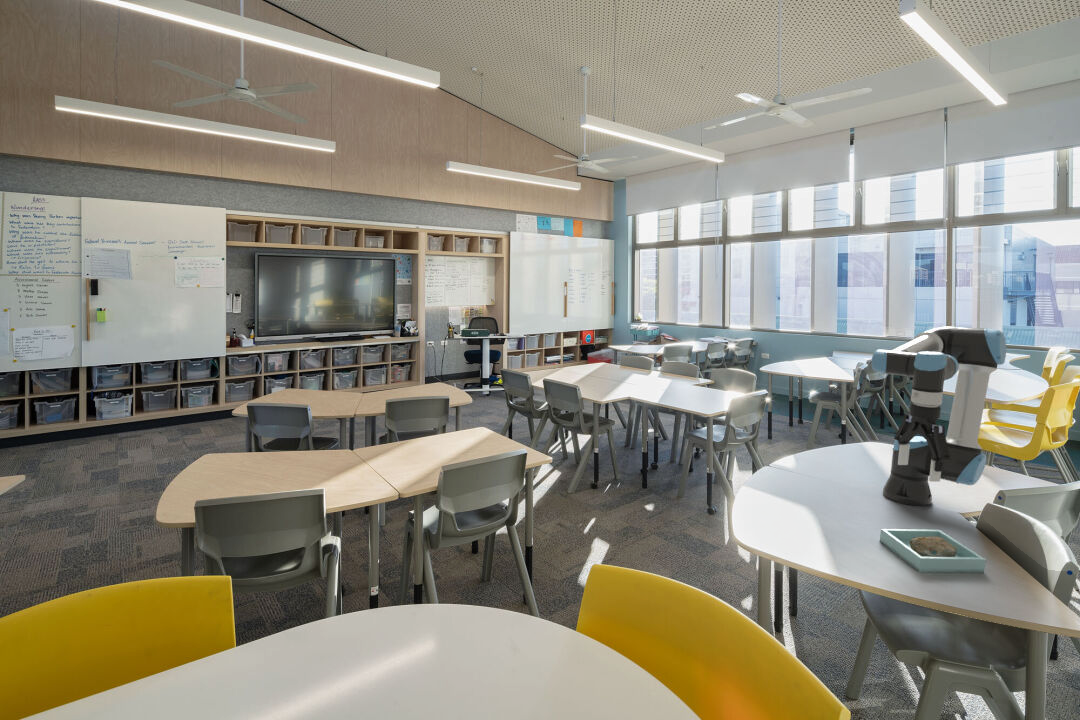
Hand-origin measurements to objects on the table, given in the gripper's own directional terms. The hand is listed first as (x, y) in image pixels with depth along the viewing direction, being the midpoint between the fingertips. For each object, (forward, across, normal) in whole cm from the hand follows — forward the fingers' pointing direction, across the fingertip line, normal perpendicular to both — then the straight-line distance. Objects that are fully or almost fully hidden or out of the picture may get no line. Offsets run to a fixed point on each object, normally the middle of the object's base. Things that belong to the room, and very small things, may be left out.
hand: (917, 472), depth 166 cm
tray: (+22, +9, 0) cm, 24 cm away
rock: (+22, +9, 0) cm, 24 cm away
